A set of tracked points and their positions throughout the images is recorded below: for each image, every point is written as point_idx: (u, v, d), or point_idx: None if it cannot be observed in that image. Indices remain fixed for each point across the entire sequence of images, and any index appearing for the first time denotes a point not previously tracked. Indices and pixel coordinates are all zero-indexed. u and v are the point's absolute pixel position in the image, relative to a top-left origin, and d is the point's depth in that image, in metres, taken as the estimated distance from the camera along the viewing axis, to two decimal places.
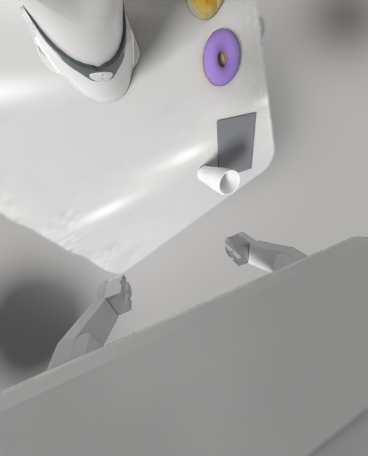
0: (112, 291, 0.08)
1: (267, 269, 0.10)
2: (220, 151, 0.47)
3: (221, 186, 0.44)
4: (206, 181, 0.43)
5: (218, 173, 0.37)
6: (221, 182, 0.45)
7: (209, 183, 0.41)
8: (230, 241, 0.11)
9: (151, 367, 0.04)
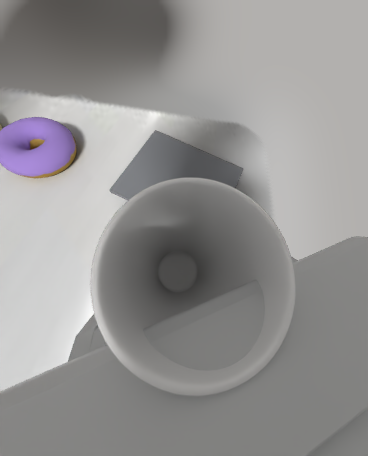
0: None
1: None
2: None
3: (223, 269, 0.10)
4: None
5: None
6: (213, 256, 0.12)
7: None
8: None
9: None
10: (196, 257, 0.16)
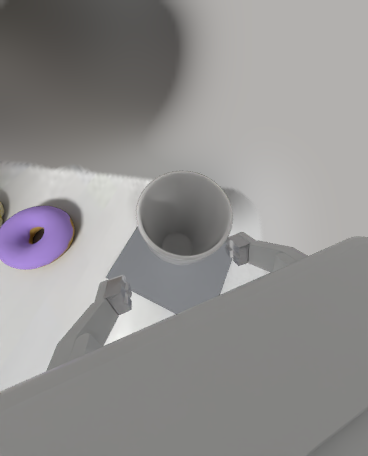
0: (112, 291, 0.08)
1: (267, 269, 0.10)
2: (156, 298, 0.21)
3: (207, 236, 0.15)
4: None
5: None
6: (202, 230, 0.17)
7: None
8: (230, 241, 0.11)
9: (151, 367, 0.04)
10: (191, 236, 0.21)
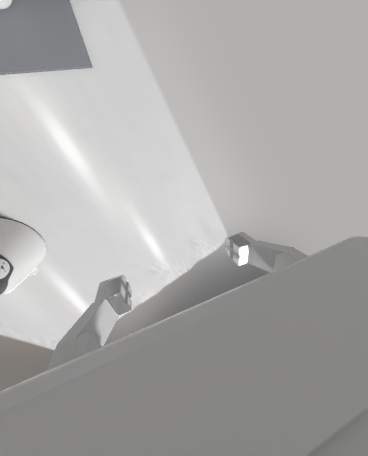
0: (112, 291, 0.08)
1: (267, 269, 0.10)
2: (34, 64, 0.23)
3: None
4: None
5: None
6: None
7: None
8: (230, 241, 0.11)
9: (151, 367, 0.04)
10: None
